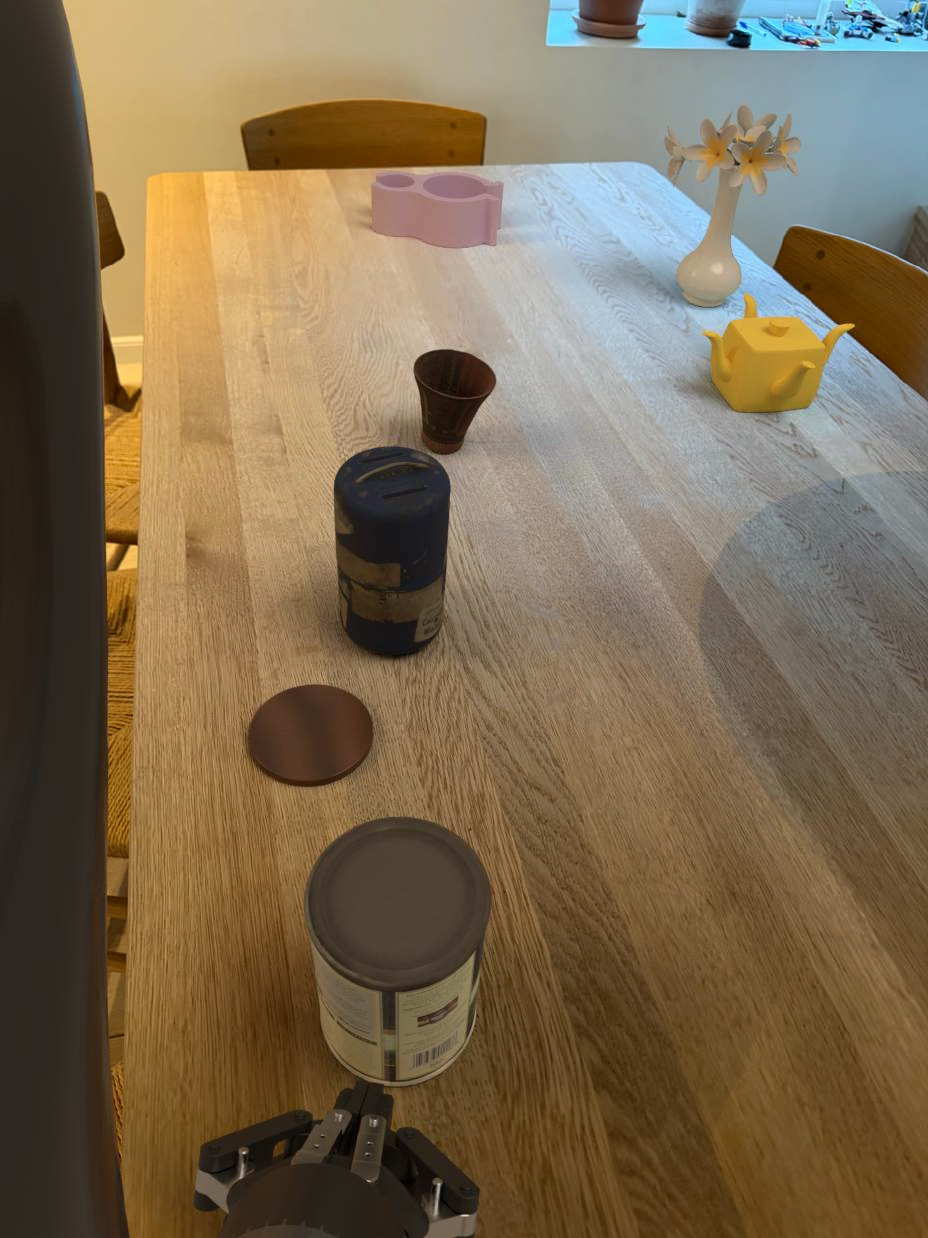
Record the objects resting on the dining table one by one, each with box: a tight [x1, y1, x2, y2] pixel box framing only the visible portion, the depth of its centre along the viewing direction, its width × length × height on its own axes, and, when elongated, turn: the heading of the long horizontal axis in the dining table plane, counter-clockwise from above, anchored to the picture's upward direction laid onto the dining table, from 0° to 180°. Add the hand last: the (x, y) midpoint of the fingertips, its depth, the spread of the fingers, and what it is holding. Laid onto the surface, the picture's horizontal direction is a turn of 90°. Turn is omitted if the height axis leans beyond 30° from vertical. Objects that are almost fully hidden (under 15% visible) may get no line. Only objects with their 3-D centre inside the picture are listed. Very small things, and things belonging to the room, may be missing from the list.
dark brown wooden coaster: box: [247, 683, 374, 787], centre depth 78 cm, size 10×10×1 cm
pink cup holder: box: [370, 170, 505, 249], centre depth 150 cm, size 20×12×7 cm, turn 83°
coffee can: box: [303, 816, 492, 1087], centre depth 57 cm, size 10×10×14 cm
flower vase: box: [663, 104, 802, 308], centre depth 130 cm, size 13×18×25 cm
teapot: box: [700, 293, 856, 413], centre depth 118 cm, size 15×14×10 cm
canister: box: [333, 445, 452, 656], centre depth 81 cm, size 10×10×18 cm
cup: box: [412, 348, 497, 455], centre depth 105 cm, size 9×9×10 cm
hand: (368, 1099), depth 50 cm, fingers closed
